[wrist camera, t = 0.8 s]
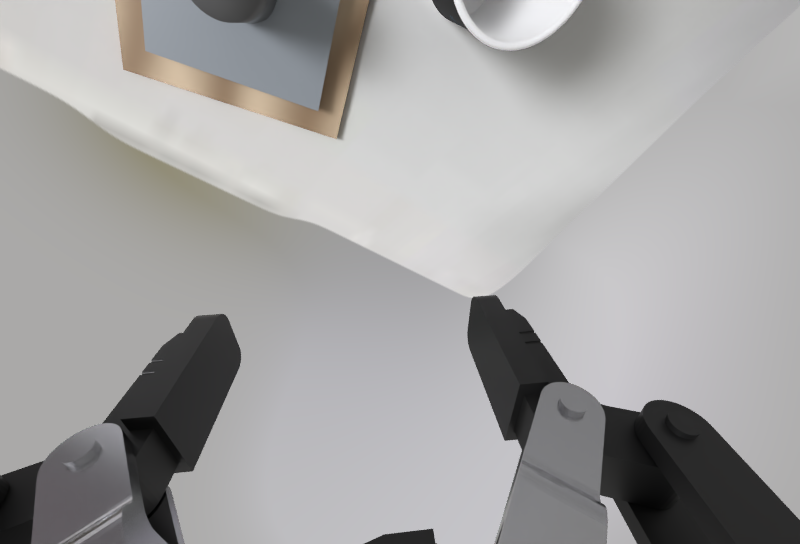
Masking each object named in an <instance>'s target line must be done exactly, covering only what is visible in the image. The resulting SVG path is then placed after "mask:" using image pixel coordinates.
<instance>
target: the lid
mask: <svg viewBox="0 0 800 544" xmlns="http://www.w3.org/2000/svg"><path fill="white" fill-rule="evenodd" d="M339 2H340V0H141V6H142V18H143V30H144V42H145V51H147V52H150V53H153V54H156V55H158V56H161V57H164V58H167V59H170V60H173V61H176V62H179V63H181V64H184V65H187V66H190V67H193V68H196V69H199V70H201V71H204V72H207V73H210V74H213V75H216V76H219V77H221V78H224V79H227V80H230V81H233V82H236V83H239V84H242V85H244V86H247V87H250V88H253V89H256V90H259V91H262V92H264V93H267V94H270V95H273V96H276V97H279V98H282V99H285V100H287V101H290V102H293V103H296V104H299V105H302V106H305V107H307V108H310V109H313V110H316V111H318V110H319V105H320V100H321V95H322V90H323V84H324V79H325V74H326V69H327V64H328V59H329V54H330V48H331V43H332V38H333V33H334V28H335V23H336V18H337V13H338V7H339Z"/></svg>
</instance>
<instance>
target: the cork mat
mask: <svg viewBox="0 0 800 544" xmlns="http://www.w3.org/2000/svg"><path fill="white" fill-rule="evenodd" d="M115 3H116V12H117V20H118V28H119V37H120V45H121V53H122V62H123V69H124V70H127V71H130V72H133V73H136V74H139V75H142V76H145V77H148V78H151V79H154V80H157V81H160V82H163V83H166V84H170V85H173V86H176V87H179V88H182V89H185V90H188V91H191V92H194V93H197V94H200V95H203V96H206V97H209V98H212V99H215V100H219V101H222V102H225V103H228V104H231V105H234V106H237V107H240V108H243V109H246V110H249V111H252V112H255V113H258V114H261V115H264V116H268V117H271V118H274V119H277V120H280V121H283V122H286V123H289V124H292V125H295V126H298V127H301V128H304V129H307V130H310V131H313V132H317V133H320V134H323V135H326V136H329V137H332V138H335V139H337V135H338V131H339V126H340V122H341V118H342V114H343V109H344V105H345V101H346V97H347V92H348V88H349V84H350V80H351V75H352V71H353V67H354V63H355V58H356V54H357V50H358V46H359V41H360V37H361V33H362V29H363V25H364V20H365V16H366V12H367V8H368V3H369V0H340V2H339V7H338V13H337V18H336V23H335V28H334V33H333V38H332V43H331V48H330V54H329V59H328V64H327V69H326V74H325V79H324V84H323V90H322V95H321V100H320V105H319V110H318V111H316V110H313V109H310V108H307V107H305V106H302V105H299V104H296V103H293V102H290V101H287V100H285V99H282V98H279V97H276V96H273V95H270V94H267V93H264V92H262V91H259V90H256V89H253V88H250V87H247V86H244V85H242V84H239V83H236V82H233V81H230V80H227V79H224V78H221V77H219V76H216V75H213V74H210V73H207V72H204V71H201V70H199V69H196V68H193V67H190V66H187V65H184V64H181V63H179V62H176V61H173V60H170V59H167V58H164V57H161V56H158V55H156V54H153V53H150V52H147V51H145V42H144V30H143V18H142V6H141V0H115Z"/></svg>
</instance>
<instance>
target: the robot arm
mask: <svg viewBox="0 0 800 544" xmlns="http://www.w3.org/2000/svg"><path fill="white" fill-rule="evenodd" d="M468 344H469V348H470V351H471V354H472V356H473V359H474V362H475V364H476V367H477V369H478V372H479V374H480V377H481V380H482V382H483V385H484V388H485V390H486V393H487V395H488V398H489V401H490V403H491V406H492V409H493V411H494V414H495V416H496V419H497V421H498V424H499V427H500V429H501V432H502V435H503V437H504V440H516V439H518V441H519V444H520V446H521V448H522V452H521V456H520V459H519V462H518V466H517V469H516V473H515V476H514V480H513V483H512V487H511V490H510V493H509V497H508V500H507V504H506V507H505V510H504V514H503V517H502V521H501V524H500V527H499V530H498V533H497V537H496V540H495V544H606V543H607V523H608V520H607V510H606V507H605V505H604V504H602V503H601V502H600V495H602V496H606V497H610V498H613V499H614V501H615V503H616V505H617V507H618V509H619V510H620V512H621V514H622V516H623V518H624V520H625V521H626V523H627V525H628V527H629V529H630V531H631V533H632V535H633V537H634V538H635V540H636V542H637V544H800V520H799V519H798V518H797V517H796V516H795V515H794V514H793V513H792V511H790V509H789V508H788V507H787V506H786V505H785V504H784V503H783V502H782V501H781V500H780V499H779V498H778V497H777V495H776V494H775V493H774V492H773V491H772V490H771V489H770V488H769V487H768V486H767V485H766V484H765V483H764V482H763V480H762V479H761V478H760V477H759V476H758V475H757V474H756V473H755V472H754V471H753V470H752V469H751V468H750V467H749V465H748V464H747V463H746V462H745V461H744V460H743V459H742V458H741V457H740V456H739V455H738V454H737V453H736V452H735V450H734V449H733V448H732V447H731V446H730V445H729V444H728V443H727V442H726V441H725V440H724V439H723V438H722V437H721V436H720V434H719V433H718V432H717V431H716V430H715V429H714V428H713V427H712V426H711V425H710V424H709V423H708V422H707V421H706V420H705V419H703V418H702V417H701V416H699V415H698V414H697V413H695V412H693V411H691V410H690V409H688V408H686V407H684V406H682V405H679V404H677V403H673V402H670V401H664V400H654V401H651V402H648V403H647V404H646V405H645V406H644V408H643V409H642V411H641V412H636V411H630V410H625V409H620V408H615V407H609V406H605V405H602V404H600V403H599V402H598V401H597V399H596V398H595V397H594V396H592V395H591V394H590V393H589V392H587V391H586V390H584V389H582V388H580V387H579V386H576V385H574V384H571V383H569V382H568V381H567V379H566V378H565V376H564V375H563V373H562V372H561V370H560V369H559V367H558V366H557V364H556V363H555V362H554V360H553V359H552V357H551V355H550V354H549V352H548V351H547V349H546V348H545V346H544V345H543V344H542V343H541V342H540V339H539V338H538V336H537V335H536V333H534V330H533V329H532V327H531V326H530V324H529V323H528V321H527V320H526V319H525V318H524V317H523V316H521V315H520V314H519V313H517V312H516V311H515V310H513V309H509V310H505V308H504V307H503V305H502V303H501V302H500V300H499V298H498V297H497V296H496V295H493V296H478V297H473V298H472V301H471V308H470V316H469V324H468ZM240 362H241V352H240V348H239V345H238V343H237V340H236V338H235V335H234V333H233V330H232V328H231V325H230V322H229V320H228V318H227V317H226V315H224V314H216V315H202V316H196V317H195V318H194V319H193V320H192V322H191V323H190V324H189V326H188V327H187V328H186V330H185V331H184V333H179V334H177V335H176V336H175V337H174V338H172V339H171V340H170V341H168V342H167V343H166V344H164V345H163V346H162V347H161V349H160V350H159V351H158V353H157V354H156V355H155V356H154V358H153V359H152V362H151V363H149V364H148V365H147V367H146V368H145V369H144V371H143V372H142V375H140V376H139V377H138V378H137V380H136V381H135V382H134V383H133V385H132V386H131V387H130V389H129V390H128V391H127V392H126V394H125V395H124V396H123V398H122V399H121V400H120V402H119V403H118V404H117V406H116V407H115V408H114V409H113V411H112V412H111V413H110V414H109V416H108V417H107V418H106V420H105V421H104V422H103V423H102V424H98V425H94V426H91V427H89V428H86V429H84V430H82V431H80V432H78V433H76V434H74V435H73V436H71V437H70V438H68V439H67V440H65V441H64V442H63V443H61V444H60V445H59V446H58V447H57V448H55V450H53V451H52V452H51V453H50V454H49V456H48V457H47V458H46V459H45V460H44V461H42V462H39V463H36V464H33V465H31V466H28V467H25V468H22V469H19V470H16V471H13V472H10V473H7V474H4V475H2V476H1V475H0V544H185V543H184V539H183V535H182V532H181V527H180V523H179V519H178V515H177V511H176V508H175V504H174V500H173V496H172V492H171V489H170V488H169V487H168V484H169V482H170V480H171V478H172V476H173V474H174V473H179V472H189V471H193V470H194V467H195V465H196V463H197V461H198V459H199V456H200V454H201V452H202V449H203V447H204V445H205V443H206V441H207V438H208V436H209V434H210V432H211V429H212V427H213V425H214V422H215V421H216V418H217V416H218V414H219V411H220V409H221V407H222V405H223V403H224V400H225V398H226V396H227V393H228V391H229V389H230V387H231V385H232V383H233V380H234V378H235V376H236V374H237V371H238V369H239V366H240ZM365 544H436V543H435V539H434V532H433V529H427V530H419V531H410V532H402V533H394V534H385V535H382V536H380V537H378V538H376V539H373V540H371V541H369V542H367V543H365Z"/></svg>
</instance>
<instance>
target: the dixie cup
mask: <svg viewBox="0 0 800 544" xmlns="http://www.w3.org/2000/svg"><path fill="white" fill-rule="evenodd" d="M432 1H433V3H434V5H435V7H436V8H437V10H438V11H439V12H440V13H441V14H442V15H443V16H444V17H445V18H446V19H448V20H450V21H452V22H454V23H456V24H458V25H460V26H462V27H464V28H466V29H468V30H469V31H470V32H471V34H472V35H473V36H474V37H475V38H477V39H478V40H479V41H480V42H482V43H484V44H485V45H487V46H489V47H491V48H494V49H498V50H503V51H516V50H522V49H526V48H529V47H531V46H534V45H536V44H538V43H540V42H542V41H543V40H545V39H547V38H548V37H549V36H551V35H552V34H553V33H555V32H556V31H557V30H558V29H559V28H560V27H561V26H562V25H563V24H564V23H565V22H566V21H567V20H568V19H569V18H570V17H571V16H572V14H573V13H574V12H575V10H576V9H577V8H578V6H579V5H580V3H581V2H582V0H432Z"/></svg>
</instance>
